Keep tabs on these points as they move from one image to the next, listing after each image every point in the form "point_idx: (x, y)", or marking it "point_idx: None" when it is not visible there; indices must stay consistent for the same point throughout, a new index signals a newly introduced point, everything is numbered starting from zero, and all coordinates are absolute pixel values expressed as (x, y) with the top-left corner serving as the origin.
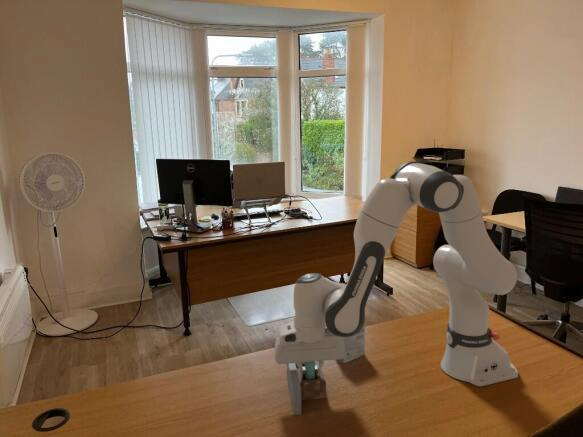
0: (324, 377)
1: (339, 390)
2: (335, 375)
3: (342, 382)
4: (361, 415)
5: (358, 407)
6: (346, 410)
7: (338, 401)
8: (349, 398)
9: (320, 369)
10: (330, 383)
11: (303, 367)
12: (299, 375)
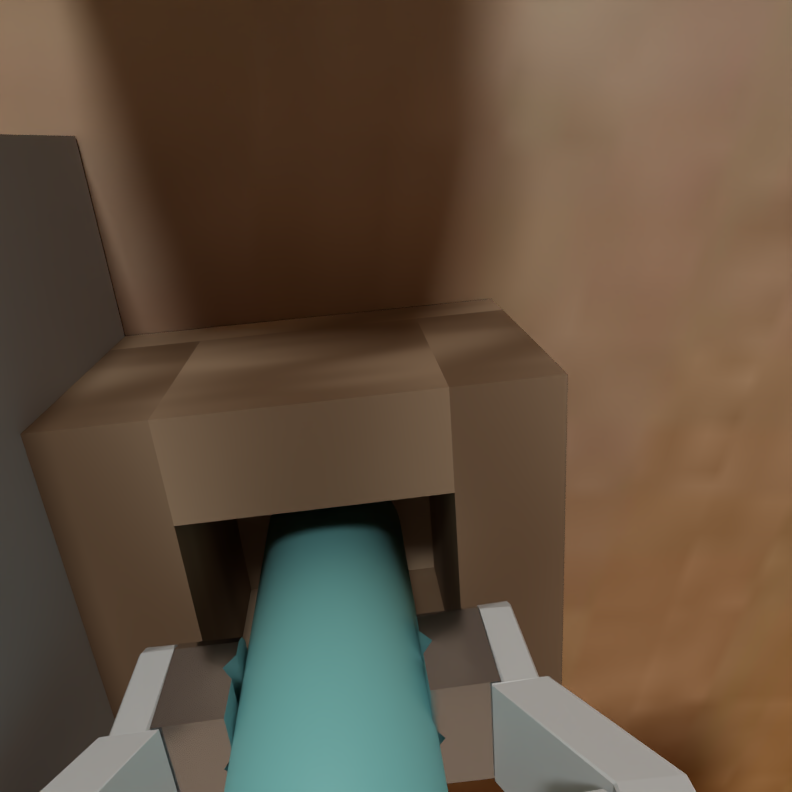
0: (561, 665)
1: (671, 475)
2: (722, 156)
3: (757, 327)
4: (743, 776)
5: (759, 699)
6: (644, 733)
7: (609, 634)
8: (728, 594)
9: (541, 459)
10: (605, 343)
11: (190, 746)
12: (147, 626)
